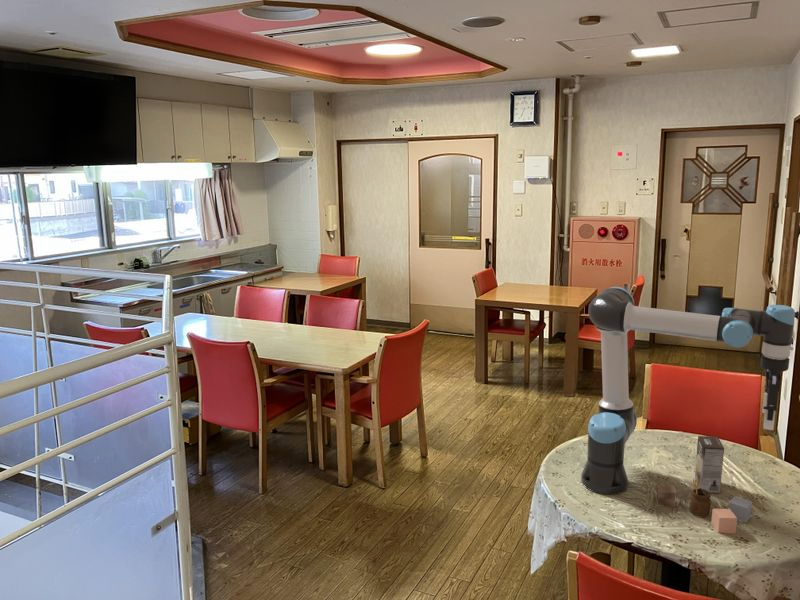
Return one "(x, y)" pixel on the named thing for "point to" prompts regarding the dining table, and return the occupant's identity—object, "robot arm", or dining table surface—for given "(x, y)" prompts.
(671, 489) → the walnut block
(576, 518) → the dining table surface
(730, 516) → the terracotta block
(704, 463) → the coffee box
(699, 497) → the utensil holder
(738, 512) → the slate block
